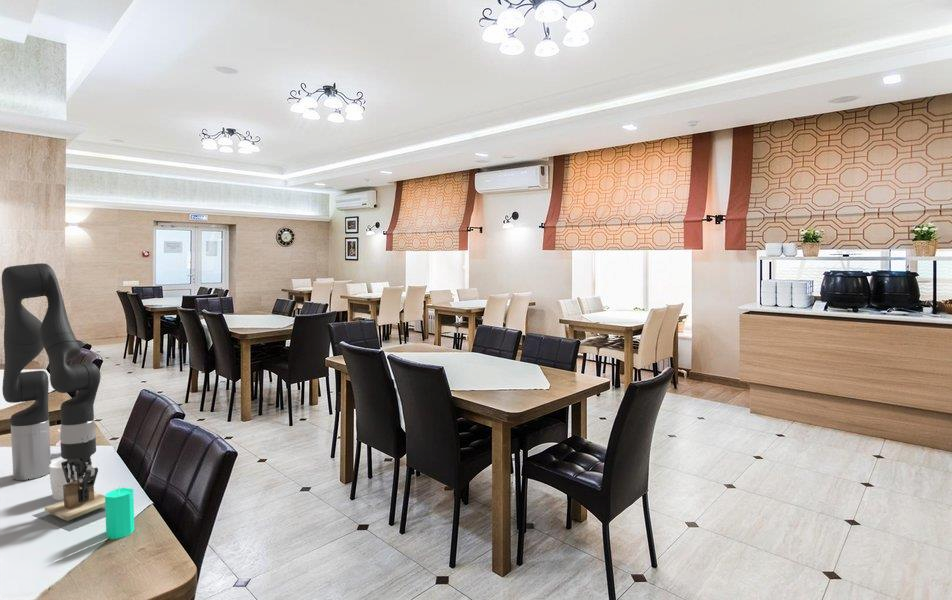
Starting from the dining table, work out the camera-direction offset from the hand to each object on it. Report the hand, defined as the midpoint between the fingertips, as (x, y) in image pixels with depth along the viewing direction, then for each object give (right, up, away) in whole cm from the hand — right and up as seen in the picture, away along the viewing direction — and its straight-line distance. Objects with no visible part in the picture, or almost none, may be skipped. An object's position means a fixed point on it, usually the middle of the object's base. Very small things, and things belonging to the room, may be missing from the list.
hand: (80, 499), depth 140 cm
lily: (-37, -1, +46) cm, 59 cm away
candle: (+18, -5, -10) cm, 21 cm away
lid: (0, -2, 0) cm, 2 cm away
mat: (0, -4, 0) cm, 4 cm away
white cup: (-12, -3, +10) cm, 16 cm away
